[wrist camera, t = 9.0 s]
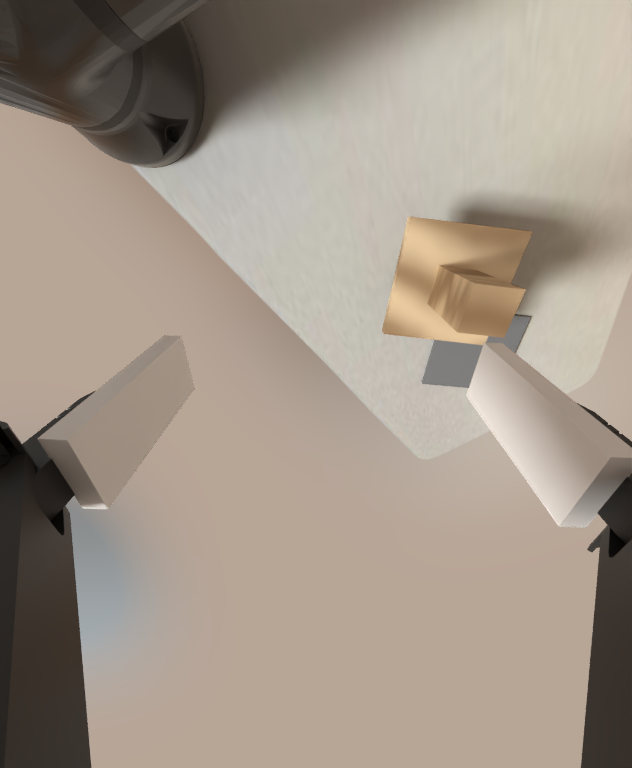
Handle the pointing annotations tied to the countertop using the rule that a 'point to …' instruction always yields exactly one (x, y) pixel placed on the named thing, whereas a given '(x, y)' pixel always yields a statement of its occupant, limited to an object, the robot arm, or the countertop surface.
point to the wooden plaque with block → (455, 281)
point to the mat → (466, 356)
